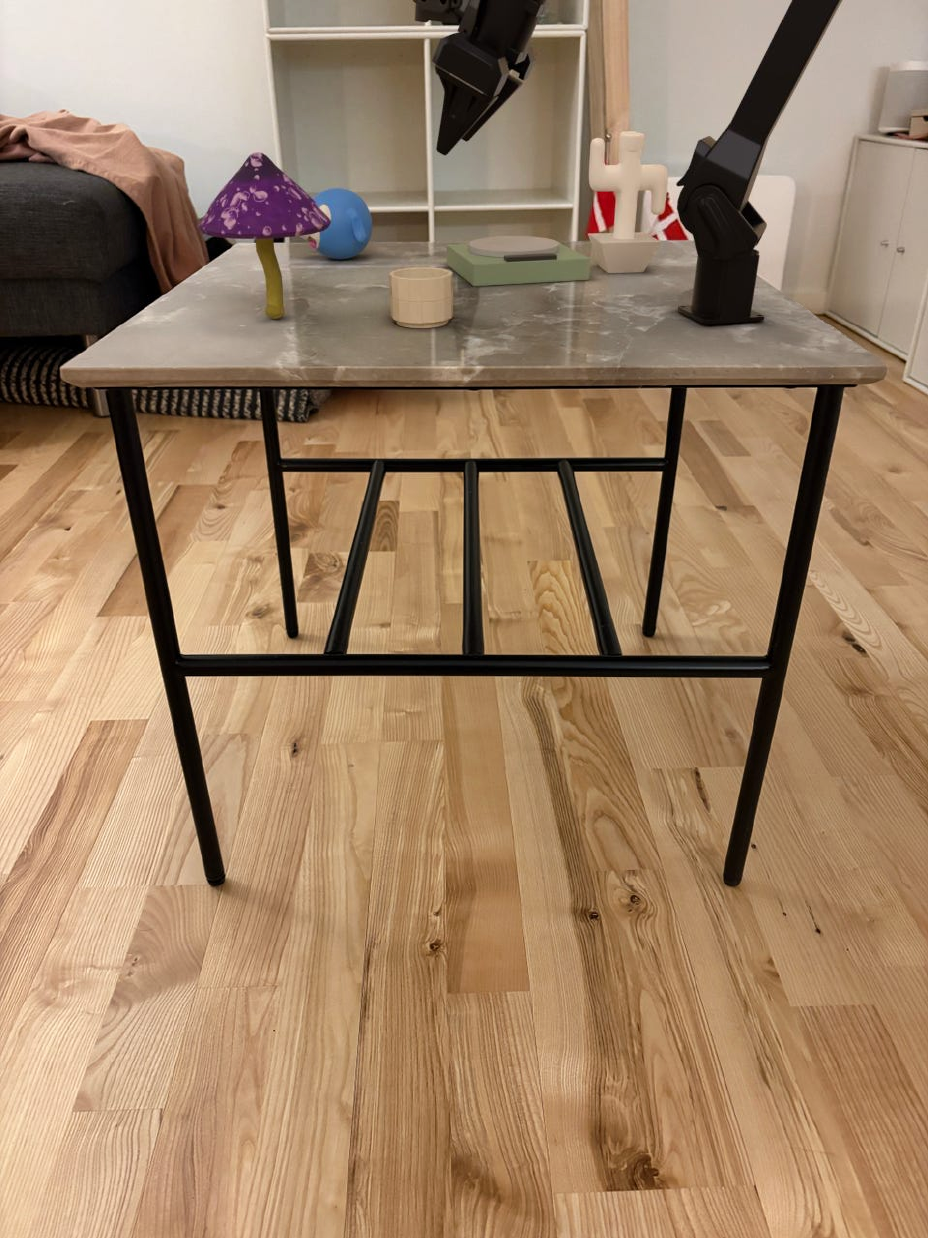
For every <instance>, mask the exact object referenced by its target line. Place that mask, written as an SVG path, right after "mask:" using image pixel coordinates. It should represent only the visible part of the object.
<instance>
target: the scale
mask: <svg viewBox="0 0 928 1238" xmlns="http://www.w3.org/2000/svg"><path fill="white" fill-rule="evenodd" d="M446 265H447V266H448V267H449V268H450V269H452V270H453V271H454V272H455V273H457V275H459V276H460V277H462V278H463V279H464V280H465V281H467V282H468V283H469V284H470V285H472V287H488V286H504V285H525V284H541V283H543V284H544V283H559V282H573V281H576V282H577V281H589V280H590V270H591V257H589V256H586V255H584V254H582V253H581V252H578V251H576V250H574V249H572V248H570V247H568V246H566V245H564V244H562V243H560V242H559V241H557V240H555V239H552V238H547V237H541V236H529V235H499V236H497V235H496V236H488V237H480V238H475V239H473V240H470V241H469V243H453V244H452V243H451V244H446Z"/></svg>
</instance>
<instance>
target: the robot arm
mask: <svg viewBox="0 0 928 1238" xmlns="http://www.w3.org/2000/svg"><path fill="white" fill-rule="evenodd" d="M412 2H413V3H414V4H415V5H414V21H415V22H420V23H428V22H429V21H431V22H439V23H446V24H447V23H448V24H455V25H458V27H457V30H456V31H457V32H453V33H451V34H448V35H446V36H443V37H442V38H440V39H439V42H438V44H437V46H436V49H435V52H434V53H433V57H432V60H431V61H432V62H433V64H434V72H435V74H436V75H437V76H438V78H439V81H440V84H441V85H442V89H443V101H442V109H441V114H440V121H439V127H438V134H437V141H436V147H435V149H436V152H437V153H439V154H441V155H442V156H447V155H448V154H449V153H450V152H451V151H452V150H453V149H454V148H455V147H456V145H457V144H458V143H459V142H460V141H461V140H462V141H464V142H469V141H471V139H472V138H473V137H474V136H475V135H476V133H478V132H479V130H481V128H482V127H483V126H484V125H485V124H487V122H488V121H489V120H490V119H491V118H492V117H493V116H494V115H495V114H496V113H497V112H498V111H499V110H500V109H501V108H502V106H503V105H505V103H506V102H507V101H508V100H509V99H510V98H511V97H512V96H513V95H514V94H515V93H516V92H517V91H518V90H519V89H520V88H521V87H522V86H523V85H524V83H523V82H524V81H526V80H528V79H529V77H530V74H531V72H532V70H533V68H534V67H535V66H534V65H535V63H536V62H537V59H536V55H535V51H534V47H533V45H531V44H529V43H530V41H531V38H532V37H533V34H534V32H535V29H536V27H537V25H538V22H539V20H540V18H541V17H542V16H545V15H546V12H547V10H548V8H549V6H550V3H549V2H548V0H412ZM842 2H843V0H791V1H790V3H789V5H788V7H787V9H786V12H785V13H784V16H783V17H782V19H781V21H780V23H779V25H778V27H777V29H776V31H775V33H774V35H773V37H772V39H771V41H770V43H769V45H768V46H767V49H766V50H765V53H764V55H763V57H762V59H761V60H760V63H759V65H758V67H757V69H756V71H755V72H754V75H753V76H752V79H751V81H750V83H749V85H748V87H747V89H746V90H745V93H744V94H743V97H742V98H741V100H740V103H739V105H738V106H737V109H736V110H735V112H734V115H733V116H732V118H731V120H730V122H729V123H728V124H727V126H726V127H725V129H724V130H723V131H722V133H721V134H720V136H719V137H718V138H717V140H716V139H715V138H713V137H712V136H711V135H708V136H705V137H703V138H700V139H698V140H697V143H696V146H695V148H694V151H693V154H692V157H691V160H690V164H689V166H688V169H687V170H686V172H685V173H684V175H683V176H682V177H680V179H679V180H678V181H677V182H676V184H675V185H676V187H682V188H681V190H680V192H679V194H678V198H677V202H676V211H677V215H678V219H679V222H680V223H681V225H682V226H683V228H684V229H685V230H686V231H687V232H689V234H691V235H692V239H693V242H694V246H695V250H696V255H697V257H696V266H695V272H694V273H695V274H694V280H693V281H694V283H693V290H692V300H691V304H687V305H686V304H685V305H678V306H677V312H679V313H680V314H683V316H686V317H688V318H690V319H691V320H694V321H696V322H697V323H699V324H702V325H706V326H709V325H711V326H712V325H725V324H739V323H741V324H742V323H752V322H753V323H754V322H764V321H765V317H766V315H764V314H762V313H760V312H759V311H758V312H757V311H755V310H753V303H754V296H755V290H756V289H755V288H756V282H757V276H758V270H759V263H760V251H759V250H758V249H755V247H757V246H758V245H759V243H760V241H761V239H762V237H763V235H764V233H765V231H766V229H767V228H768V227H767V226H768V224H767V222H766V220H765V219H764V218H763V216H762V215H761V214H760V213H759V212H758V211H757V209H756V208H755V207H754V206H753V205H752V203H751V202H750V201H749V199H750V197H751V194H752V191H753V188H754V185H755V182H756V179H757V177H758V174H759V171H760V168H761V165H762V162H763V158H764V154H765V152H766V148H767V146H768V143H769V139H770V137H771V135H772V133H773V131H774V130H775V128H776V126H777V124H778V123H779V121H780V118H781V116H782V114H783V113H784V111H785V109H786V107H787V105H788V104H789V102H790V99H791V97H793V94H794V92H795V91H796V88H797V86H798V85H799V83H800V81H801V79H802V77H803V75H804V73H805V72H806V70H807V68H808V66H809V64H810V63H811V60H812V58H813V57H814V55H815V52H816V51H817V49H818V47H819V45H820V44H821V41H822V39H823V37H824V36H825V35H826V32H827V30H828V29H829V27H830V25H831V23H832V21H833V20H834V17H835V15H836V14H837V11H838V10H839V8H840V5H841V4H842ZM513 72H516V73H517V74H518V78H517V77H515V76H513V75H512V74H513Z"/></svg>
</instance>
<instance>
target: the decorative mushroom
mask: <svg viewBox="0 0 928 1238" xmlns="http://www.w3.org/2000/svg"><path fill="white" fill-rule="evenodd" d="M330 223H331V220H330V219H329V218H328V217H327V216H326V214H325V213H324V212H323V211H322V210H321V209H320V208H319V206H318V205H317V204H316V202H315V201H314V200H313V198H312V197H311V196H310V195H309V194H308V193H307V192H306V191H305V190H304V189H303V188H302V187H301V186H300V185H299V184H298V183H296V182H295V181H294V180H293V179H292V178H291V177H289V176H288V175H287V174H286V173H285V172H284V171H282V169H280V168H279V167H278V166H277V165H276V164H275V163H274V162H273V160H271V158H270V157H269V156H268V155H267V154H264V153H263V152H260V151H255V152H252V153H251V154H249V156H248V157H247V158H246V159H245V160H244V162H243V163H242V165H241V166H240V167H239V169H238V170H237V171H236V172H235V174H234V175H233V176H232V177H231V178H230V179H229V181H228V182H227V183H225V185H223V188H222V189H221V190H220V191H219V193H218V194H217V196H216V197H214V199H213V201H212V202H211V203H210V204H209V206H208V209H207V211H206V212H205V214H204V216H203V217H202V219H201V220H200V222H199V223H198V227H197V228H198V229H199V230H200V232H201V233H203V234H205V235H206V236H209V237H214V238H215V237H216V238H222V239H232V240H233V239H235V240H254V241H255V251H256V254H257V256H258V258H259V261H260V264H261V267H262V270H263V274H264V278H265V294H266V305H265V308H264V313H265V315H266V316H267V317H268V318H269V319H274V320H277V319H280V318H283V316H284V315H285V313H286V311H285V305H284V285H283V284H284V283H283V275H282V271H281V268H280V264H279V261H278V258H277V254H276V251H275V242H274V239H285V238H294V237H295V238H297V237H299V236H303V235H309V234H314V233H318V232H322V231H324V230H325V229H327V228H328V227H329V225H330Z"/></svg>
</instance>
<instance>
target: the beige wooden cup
mask: <svg viewBox="0 0 928 1238" xmlns="http://www.w3.org/2000/svg"><path fill="white" fill-rule="evenodd" d="M453 275H454V273H453V271H452V270H450V269H446V268H441V267H432V266H431V267H430V266H417V267H405V268H399V269H395V270H392V271H390V272H389V273H388V276H389V278H388V279H389V295H390V297H389V298H390V299H389V300H390V316H391V318H392V320H393V321H395V323H396V325H397V326H400V327H404V328H409V329H432V328H438V327H442V326H445V325H447V324H449V322H450V320H451V319H452V318H454V279H453V278H454V276H453Z"/></svg>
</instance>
